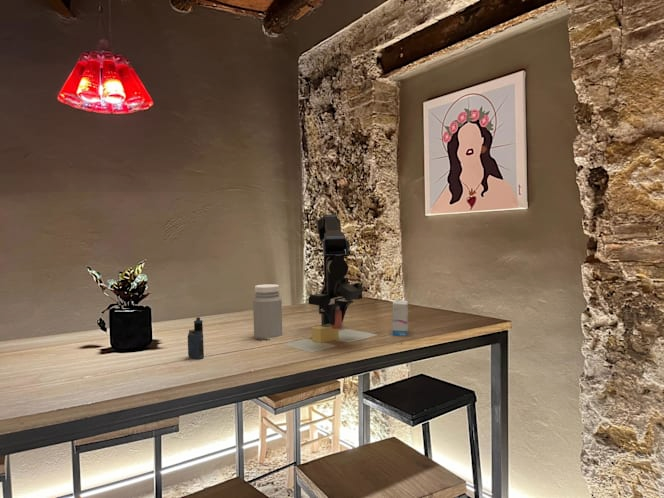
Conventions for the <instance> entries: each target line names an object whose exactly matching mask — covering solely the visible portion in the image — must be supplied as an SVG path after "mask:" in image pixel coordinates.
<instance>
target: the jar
mask: <svg viewBox="0 0 664 498" xmlns="http://www.w3.org/2000/svg"><path fill="white" fill-rule="evenodd" d="M279 291H280V285H279V284H275V283H272V284H271V283H270V284H269V283H266V284H257V285H255V286H254V292H255V294H254V298H253V300H252V304H253V305H252V306H253V308H252V309H253V310H252V312H253V336H254V337H255V338H256V340H258V341H259V340H260V341H271V339H272V338H278V337H281V336H282V335H283V310H282V306H283V305H282V302H283V301H282V298H281V296H280V292H279Z"/></svg>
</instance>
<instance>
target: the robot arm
mask: <svg viewBox="0 0 664 498" xmlns="http://www.w3.org/2000/svg"><path fill="white" fill-rule="evenodd" d="M341 224H342V223H341V219H339V217H338V215H337V214H333V213H332V214H331V213H330V214H324V215H322V217H321V218H319V219H318V220H317V222H316V234H317V235H318V240H319V241H320V242H321V244H322V253H323V283H324V284H323V287H321V288H322V289H321V290H320V292H319V293H314V294H310V295H309V296H308V305H313V306H317V307H318V308H317V309H318V314H319V315H320V316H321V317H320V319H321V325H325V324H331V325H334V323H335V308H336V306H337V305H339V306H340V310H342V323H343V322H344V319H345V317H346V312H347V309H348V308H349V306H350V305H351V304H352V303H354V300H355V301H356V300H361V299H363V284H362V283H360V282H355V283H354V284H353V283H352V284H351V283H349V279H348V277H346V275H347V274H348V272H349V265H348V263H347V261H346V260H345V258H346V257H350V254H351V247H350V241H349V240H348V238H347V237H346V235H345V233H344V232H343V231H341V230H342V227H341V226H342V225H341Z"/></svg>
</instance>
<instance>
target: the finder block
mask: <svg viewBox="0 0 664 498" xmlns="http://www.w3.org/2000/svg"><path fill="white" fill-rule="evenodd" d="M338 331H339V329H332V325H331V324H325V325H322V324H320V325H317V326H313V327H311V337H312V342H317V343H324V342H328V341H332V340H336V339H339V333H338Z"/></svg>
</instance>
